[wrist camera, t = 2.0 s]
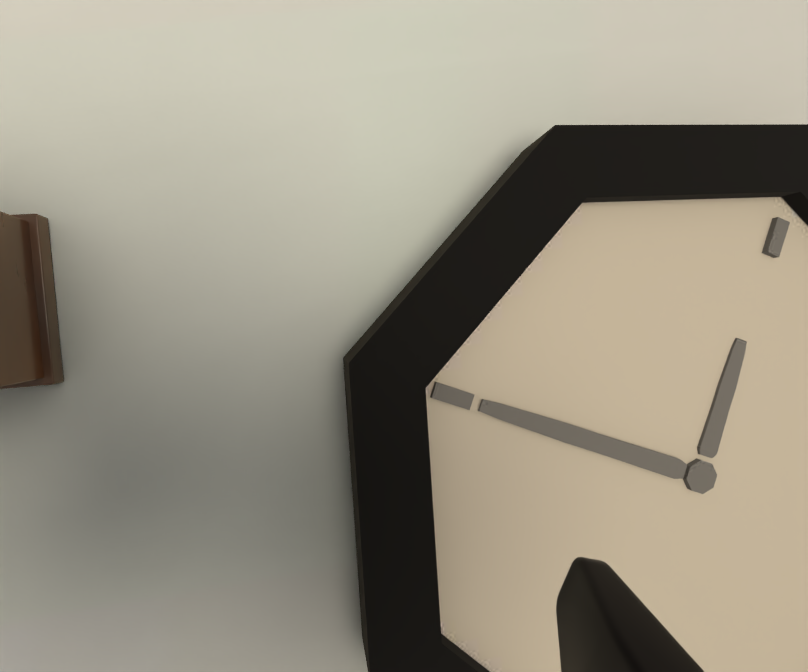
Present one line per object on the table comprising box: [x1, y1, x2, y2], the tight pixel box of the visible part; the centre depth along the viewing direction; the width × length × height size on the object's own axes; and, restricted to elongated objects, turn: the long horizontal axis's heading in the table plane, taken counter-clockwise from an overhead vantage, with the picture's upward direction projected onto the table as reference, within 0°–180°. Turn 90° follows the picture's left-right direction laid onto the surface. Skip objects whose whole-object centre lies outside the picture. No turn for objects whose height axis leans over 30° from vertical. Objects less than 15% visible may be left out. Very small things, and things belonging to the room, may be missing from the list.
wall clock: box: [343, 125, 808, 672], centre depth 23 cm, size 30×3×30 cm
